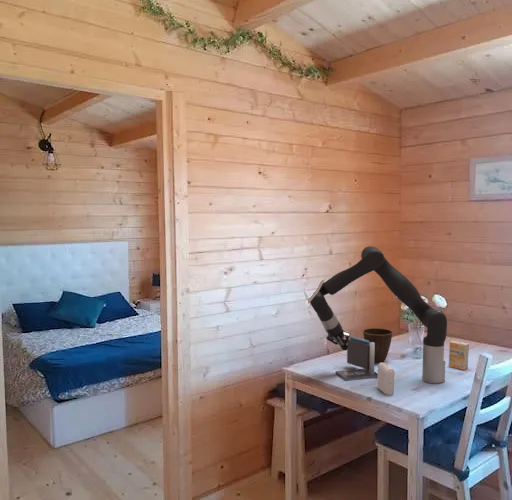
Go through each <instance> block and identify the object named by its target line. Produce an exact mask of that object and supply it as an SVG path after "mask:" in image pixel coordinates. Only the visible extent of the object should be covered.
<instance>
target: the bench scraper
mask: <svg viewBox="0 0 512 500" xmlns="http://www.w3.org/2000/svg"><path fill="white" fill-rule="evenodd" d="M347 346H348V348H347V350H346V353H347V354H346V364H349V365H352V366H355V367H359V368H360V369H364V368H365V369H369V371H375V363H374V353H375V343H374V342H370V341H368V340H364V338H359V337H356V336H353V335H352V336H351V335H350V337H349V339H348V342H347Z"/></svg>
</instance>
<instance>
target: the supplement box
mask: <svg viewBox="0 0 512 500" xmlns="http://www.w3.org/2000/svg"><path fill="white" fill-rule="evenodd" d="M469 350H470V343H467V342H463V341H458V340H451V341H450V342H449V349H448V351H449V353H448V367H449V368H452V369H457V370H462V371H465V370H468V368H469Z"/></svg>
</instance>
